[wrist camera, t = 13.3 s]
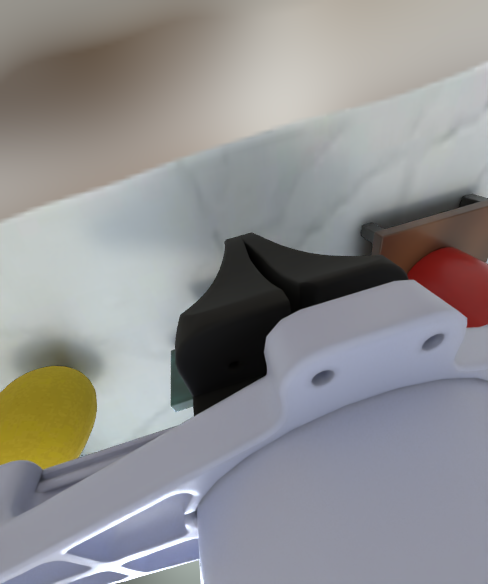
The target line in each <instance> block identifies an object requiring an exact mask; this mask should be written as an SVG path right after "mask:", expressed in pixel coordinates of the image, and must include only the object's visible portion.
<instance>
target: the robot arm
mask: <svg viewBox="0 0 488 584" xmlns="http://www.w3.org/2000/svg"><path fill="white" fill-rule="evenodd" d="M224 243H225V252H224V257H223V261H222V264H221V267H220V270H219V272H218V274H217V276H216V278H215V280H214V282H213V283H212V285H211V286H210V288H209V289H208V290H207V292H206V293H205V294H204V295H203V296H202V297H201V298H200V299H199V300H198V301H197V302H196V303H195V304H194V305H192V306H191V307H190V308H189V309H187V310H186V311H185V312H184V313H182V314H181V315H180V318H179V322H178V327H177V333H176V340H175V364H176V367H177V370H178V372H179V374H180V376H181V377H182V379H183V381H184V383H185V384H186V386H187V388H188V389H189V391H190V393H191V395H192V396H193V409H194V417H192V418H190V419H189V420H187V421H185V422H183V423H182V424H180V425H178V426H175V427H172V428H169V429H165V430H162V431H159V432H156V433H153V434H150V435H147V436H144V437H141V438H138V439H135V440H132V441H129V442H126V443H123V444H120V445H116V446H113V447H110V448H107V449H104V450H101V451H98V452H95V453H92V454H89V455H86V456H83V457H80V458H77V459H74V460H71V461H67V462H64V463H61V464H58V465H55V466H52V467H49V468H46V469H42V468H41V467H40V466H38V465H37V464H35V463H33V462H31V461H27V460H17V461H12V462H9V463H6V464H3V465H0V584H115V583H118V582H122V581H126V580H129V579H133V578H136V577H140V576H143V575H147V574H150V573H154V572H157V571H161V570H164V569H168V568H171V567H175V566H179V565H182V564H186V563H189V562H192V561H196V560H200V576H201V584H488V324H487V325H484V326H481V327H472V328H466V327H467V317H465V316H464V315H463V314H461V313H460V312H459V311H458V310H456V309H455V308H453V307H452V306H451V305H449V304H448V303H446V302H445V301H443V300H442V299H441V298H439V297H438V296H436V295H435V294H433V293H432V292H431V291H429V290H428V289H426V288H425V287H423V286H422V285H421V284H419V283H418V282H416V281H415V280H408V276H407V274H406V272H405V271H404V270H403V269H402V268H401V267H399V266H398V265H396V264H395V263H393V262H392V261H391V260H389V259H388V258H386V257H385V256H383V255H371V256H329V255H321V254H313V253H307V252H303V251H298V250H295V249H291V248H288V247H285V246H282V245H279V244H277V243H274V242H272V241H270V240H267V239H265V238H263V237H261V236H259V235H256V234H254V233H248V234H245V235H241V236H237V237H234V238H230V239H227V240H226V241H225V242H224Z"/></svg>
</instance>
